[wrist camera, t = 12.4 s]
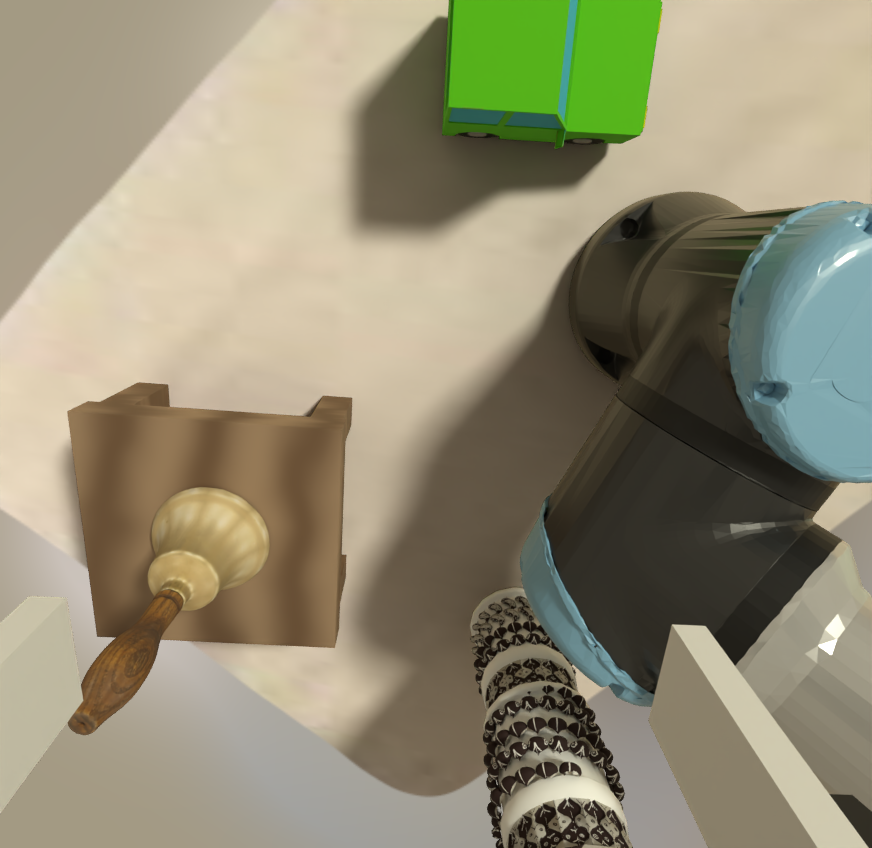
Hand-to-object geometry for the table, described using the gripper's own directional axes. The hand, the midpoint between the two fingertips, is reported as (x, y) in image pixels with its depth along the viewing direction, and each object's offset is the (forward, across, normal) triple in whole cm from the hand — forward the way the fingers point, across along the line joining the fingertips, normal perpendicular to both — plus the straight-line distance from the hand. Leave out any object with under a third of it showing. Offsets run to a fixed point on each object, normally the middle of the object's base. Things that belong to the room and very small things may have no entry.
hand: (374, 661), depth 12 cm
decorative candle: (+35, -12, +26) cm, 45 cm away
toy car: (+35, -8, -20) cm, 41 cm away
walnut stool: (+35, +13, +13) cm, 39 cm away
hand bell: (+26, +13, +13) cm, 32 cm away
